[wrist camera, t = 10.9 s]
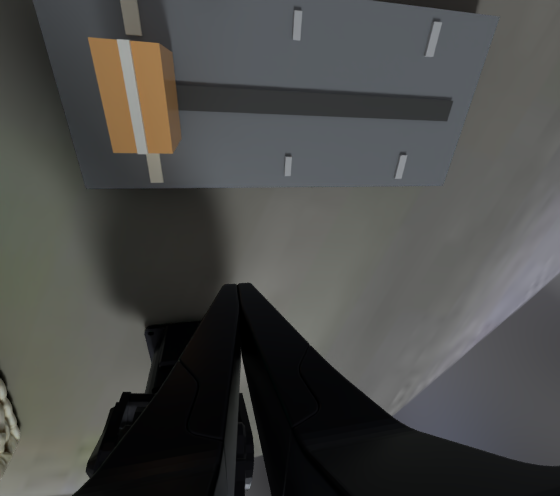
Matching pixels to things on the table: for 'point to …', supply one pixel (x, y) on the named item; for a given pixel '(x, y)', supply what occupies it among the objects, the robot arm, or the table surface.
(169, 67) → the fader knob
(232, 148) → the fader panel
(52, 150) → the table surface
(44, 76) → the table surface
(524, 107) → the table surface
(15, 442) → the storage basket
